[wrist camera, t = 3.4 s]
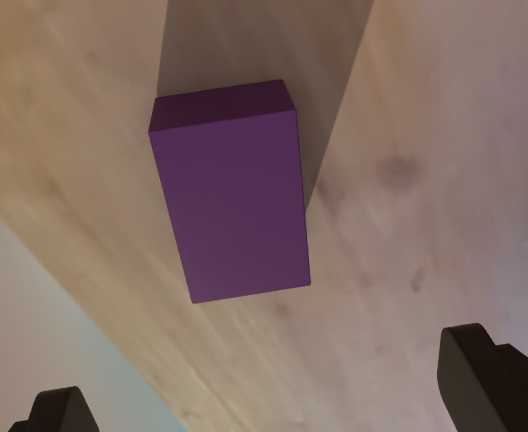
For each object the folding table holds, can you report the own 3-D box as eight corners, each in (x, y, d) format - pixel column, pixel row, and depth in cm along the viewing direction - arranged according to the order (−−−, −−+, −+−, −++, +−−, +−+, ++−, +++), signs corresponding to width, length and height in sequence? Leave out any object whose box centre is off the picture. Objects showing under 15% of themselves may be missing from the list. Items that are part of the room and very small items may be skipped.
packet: (298, 240, 21) (311, 285, 19) (193, 256, 21) (192, 304, 19) (282, 78, 18) (296, 108, 15) (154, 97, 18) (147, 131, 15)
